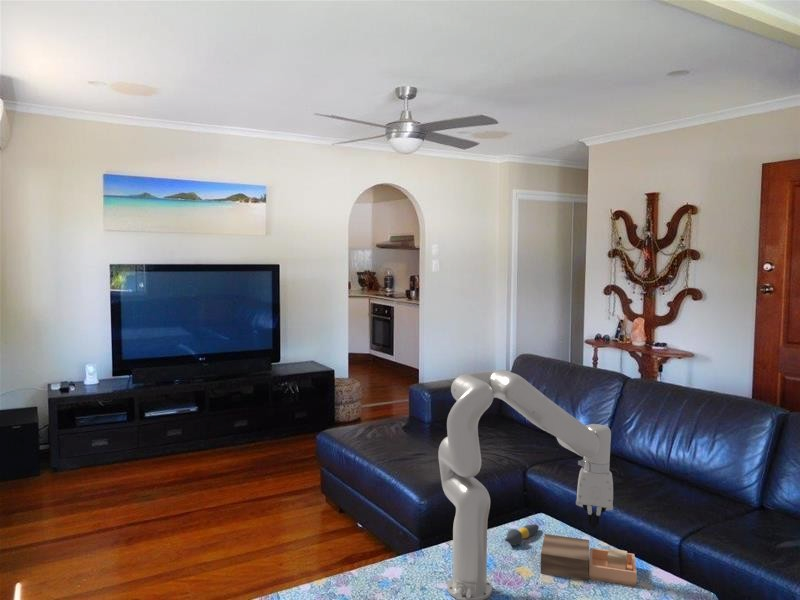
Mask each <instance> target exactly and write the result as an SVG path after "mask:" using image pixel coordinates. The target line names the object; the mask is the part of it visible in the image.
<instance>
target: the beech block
mask: <svg viewBox="0 0 800 600" xmlns="http://www.w3.org/2000/svg"><path fill="white" fill-rule="evenodd" d="M608 550H609V552H608V557H607V567H610V568H616V569H623V570H626V569H627V553H628V551H627V550H623V549H616V548H612V547H609V549H608Z"/></svg>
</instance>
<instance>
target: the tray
mask: <svg viewBox="0 0 800 600" xmlns="http://www.w3.org/2000/svg"><path fill="white" fill-rule="evenodd" d="M608 552H609V549H601V548H594V547H589V571H588V580H593V581H598V582H606V583H612V584H618V585H626V586H631V587H637V583H638V576H637V575H638V573H637V564H636V562H637V561H636V557H635V553H632V552H631V553H630V552H627V569H626V570H623V569H616V568H610V567H607V557H608Z"/></svg>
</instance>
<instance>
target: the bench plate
mask: <svg viewBox="0 0 800 600" xmlns="http://www.w3.org/2000/svg"><path fill="white" fill-rule="evenodd" d="M589 556H590V539H586V538H579V537H578V538H577V537H570V536H563V535H555V534H550V533H544V537H543V542H542V546H541V552H540V574H545V575H549V576H557V577H563V578H570V579H577V580H583V581H589Z"/></svg>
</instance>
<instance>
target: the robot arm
mask: <svg viewBox="0 0 800 600" xmlns="http://www.w3.org/2000/svg"><path fill="white" fill-rule="evenodd" d="M450 392H451V395H452V397H453V399H454V400H455V401H456V402H454V404H453V406H452V407H451V408H450V411H449V413H448V415H447V418H446V419H447V420H446V430H447V431H446V433H447V434H446V435H447V436H446V437H444V438H443V439H442V440H441V442H440V444H439V447H438V458H437V459H438V464H439V472H440V480H441V487H442V490H443V492H444V495H445V496H446V498H447V499H448V500H449V502H451V503H452V504H453V505H454V507H455V516H454V520H453V527H452V578H450V579H449V580H448V582H447V585H446V586H447V592H448V593H449V595H451V596H452V597H453V598H454V599H456V600H486V599H489V598H490V596H491V595H492V593H493V586H492V584H491V582H490V581H489V580H488V579H487V577H488V575H487V574H488V573H487V572H488V570H487V568H488V519H489V515H490V509H491V497H490V494H489V491H488V490H487V488H486V487H485V486H484V484H482V483H481V482H480V481H479V480H478V479H477V478H475V476H477V475H478V474H479V472H481V471H480V470H481V468H482V455H481V447H480V439H479V421H480V419H481V417H482V416H483V414H484V413H485V412H486V411H487V410H488V409H489V408H490V406H491V405H492V403H493V401H494V399H499V400H500V401H501V400H502V401H503V402H505V403H506V404H507V405H509V406H510V407H511V408H512V409H514V410H515V411H516V412H517V413H519V414H520V415H522V417H524V418H526V420H528V422H530V423H531V424H533V425H535V426H536V427H537V428H539V429H541V430H542V431H544V432H546V433H548V434H550V435H551V436H554V437H555V439H556V441H557V443H558V444H559V446H561V447H563V448H565V449H567V450H568V451H571V452H573V453H574V454H576V455H578V456H580V457H582V458H583V459H581V460H577V465H578V466H581V468H580V470H579V474H578V478H577V490H576V500H575V505H576V506H578V507H580V508H583V509H584V510H585V511H586V513H587V515H588V522H587V523H588V525H590V529H595V530H596V529H597V526H599V524H600V516H601V514H603V513H604V512H606V511H613V510H614V504H613V503H614V502H613V501H614V481H613V474H612V471H610V461H611V459H610V458H611V457H610V456H611V440H612V430H611V429H610V427H608V426H607V425H604V424H598V423H590V424H584V423H582V422H581V421H580V420H579V419H577V418H576V417H574V416H573V415H572V414H570V413H569V412H568V411H566V410H564V409H563V408H562V407H561V406H559V405H558V404H556V403H555V402H554V401H552V400H551V399H550V398H549V397H547V396H546V395H545V394H543V393H542V392H541V391H539V389H537V388H536V387H535V386H533V384H531V383H530V382H529V381H527V380H526V379H525V377H524V378H523V377H522V376H520V375H519V374H517V373H514V372H511V371H509V370H505V369H495V370H493V369H492V370H486V371H479V372H470V373H464V374H460V375H458V376H457V377H456V378H455V379H453V381H452V383H451V387H450ZM593 507H595V508H596V509H595V510H593Z"/></svg>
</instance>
